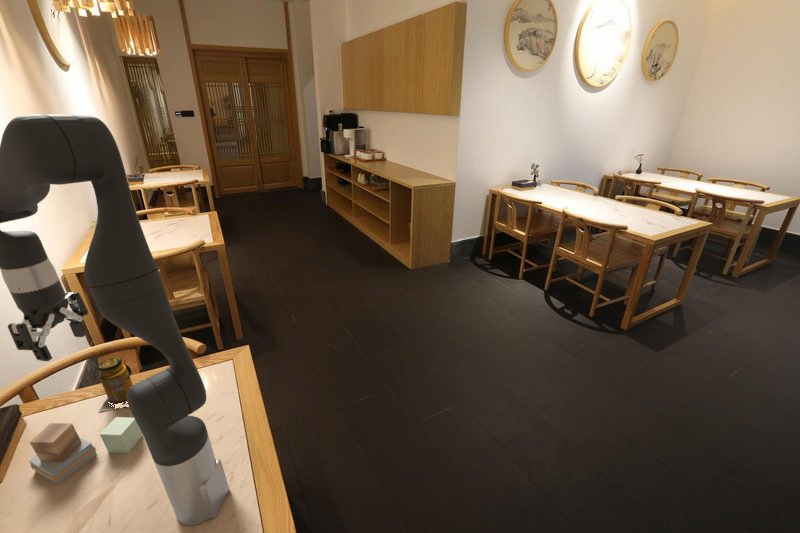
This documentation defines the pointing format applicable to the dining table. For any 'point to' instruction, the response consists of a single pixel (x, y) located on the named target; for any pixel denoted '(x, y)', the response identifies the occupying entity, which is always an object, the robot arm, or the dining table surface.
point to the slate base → (64, 463)
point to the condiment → (114, 382)
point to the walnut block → (56, 442)
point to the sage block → (121, 435)
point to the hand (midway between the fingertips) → (64, 347)
